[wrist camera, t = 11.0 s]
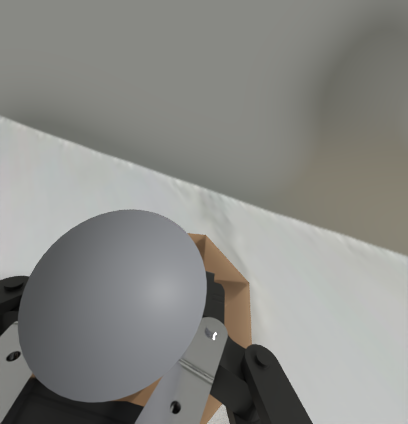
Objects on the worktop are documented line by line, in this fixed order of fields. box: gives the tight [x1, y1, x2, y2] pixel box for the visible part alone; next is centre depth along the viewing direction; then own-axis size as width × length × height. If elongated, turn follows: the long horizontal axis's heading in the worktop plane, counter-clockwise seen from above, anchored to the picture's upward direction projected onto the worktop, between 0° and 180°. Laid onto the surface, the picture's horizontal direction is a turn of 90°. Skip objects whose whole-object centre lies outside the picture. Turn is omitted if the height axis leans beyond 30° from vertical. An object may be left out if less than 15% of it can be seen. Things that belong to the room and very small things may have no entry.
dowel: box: [18, 210, 207, 402], centre depth 11 cm, size 4×4×14 cm
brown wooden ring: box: [112, 233, 252, 424], centre depth 16 cm, size 13×13×4 cm
